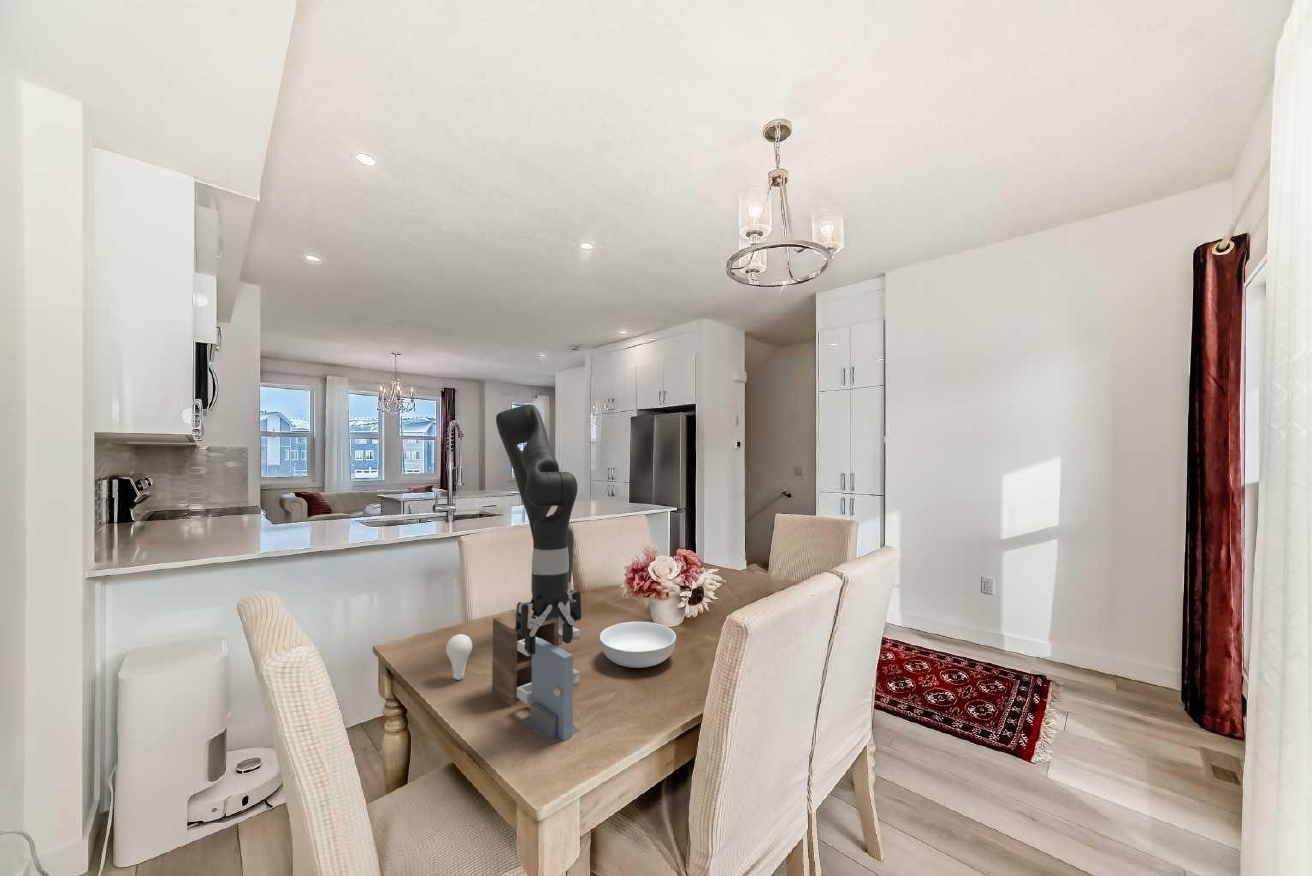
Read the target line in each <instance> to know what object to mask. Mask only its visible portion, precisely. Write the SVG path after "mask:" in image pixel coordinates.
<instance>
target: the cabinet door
mask: <svg viewBox="0 0 1312 876" xmlns="http://www.w3.org/2000/svg"><path fill="white" fill-rule="evenodd" d="M517 651H519V652H521V653H523V654H524V655H526V656H530V654H528V653H527V651H525V639H523V640H520V641H517ZM573 669H574V654H572V653H570V652H568V651H566V650H564V649H563V648H560V647H559V646H558V647H557V646H555V645H553V644H551V643H549V642H547V641H545V640H543V639H541V638H537V637H536V645H535V654H534V655H532V682H531V683H528V684H526V685H523V686H520V687H517V697H518V698H519V699H520V700H522V701H523V703H524V704H526V705H528V704H529V705H530V703H532V702H537V703H538V704H540V705H541V706H543V707H544V708H545V709H547V710H548V711H550V712H551V713H553V714H554V715H556V716H557V736H558V737H560V738H561V739H562V740H561V741H565V740H568V739H570V738H572V737H573V735H572V709H573V694H574V693H573V692H574V691H573V689H574V687H573Z"/></svg>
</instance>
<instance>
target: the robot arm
mask: <svg viewBox="0 0 1312 876" xmlns="http://www.w3.org/2000/svg"><path fill="white" fill-rule="evenodd" d="M495 417H496V418H495V423H496V428H497V431H498V434H499V437H500V439H501V442H502V444H503V446H504V449H505V452H506V454H507V458H508V459H509V463H510V464H511V468H512V471H513V474H514V477H515V478H514V479H515V482H516V485H517V488H518V492H519V494H520V499H521V501H522V504H523V506H524V508H525V513H526V516H527V518H528V522H529V527H530V532H531V536H532V541H533V545H532V546H533V547H532V556H531V582H530V583H531V588H530V589H531V590H530V591H531V595H532V597H531V599H530V601H528V602H521V601H520V602H519V601H518V603H516V612H515V613H516V626H515V632H516V633H519V634H521V635H522V636H525V651H527V653H528V654H530V655H534V654H535V645H536V636H534V635H535V633H536V631H537V629H538V628H539V627H540V626H541V625H542V624H543V622H544V620H545V621H548V620H550V619H552V618H559V629H563V631H562V640H563V642H565V643H564V644H571V642H572V641H571V640H572V638H573V627H574V626H575V625H574V624H575V622H577V621H580V620H581V619H582V602H581V601H582V600H581V597H582V596H581V592H579V591H577V590H573V589H572V572H573V561H574V560H573V555H574V533H573V531H572V529H571V528H569V527H570V526H569V524H570V519H571V515H572V512H573V507H574V504H575V502H576V499H577V496H578V494H577V493H578V482H577V479H576V477H575V475H573V474H572V473H571V472H569V471H560V466H559V463H558V461H557V459H556V457H555V455H554V453H553V451H552V448H551V445H550V443H549V438H548V434H547V433H548V432H547V431H546V427H545V423H544V421H543V418H542V416H541V413H540V411H539V409H538V408H537V407H536V406H535V405H534V404H523V405H520V406H516V407H513V408H509V409H506V410H503V411H500V412H499V413H497V414H496V416H495ZM522 444H524V446H523V449H522V450H521V448H520V447H519V446H518V445H522ZM552 507H556V509H555V511H554V512H553V513H552V514H550V515H548V513H549V511H550V510H551V509H552ZM530 609H532V610H533V612H532V613H531V615H530V617H529V619H528V614H529V613H530ZM536 617H538V619H537V620H536ZM574 628H575V627H574ZM559 644H561V643H560V642H558V645H559Z"/></svg>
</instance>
